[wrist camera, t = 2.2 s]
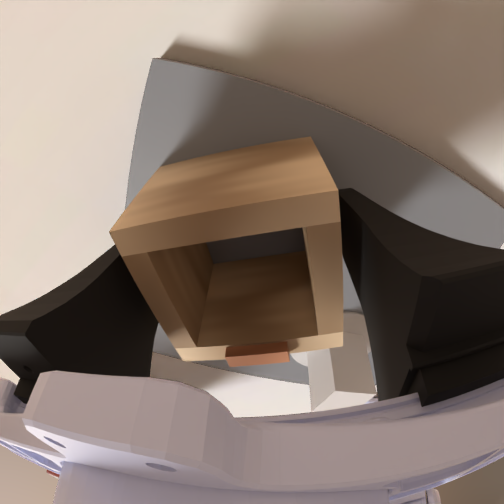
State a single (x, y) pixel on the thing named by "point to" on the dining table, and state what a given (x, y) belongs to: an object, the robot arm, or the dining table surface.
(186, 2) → the dining table surface
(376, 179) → the panel
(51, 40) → the dining table surface
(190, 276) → the wooden cubby shelf
